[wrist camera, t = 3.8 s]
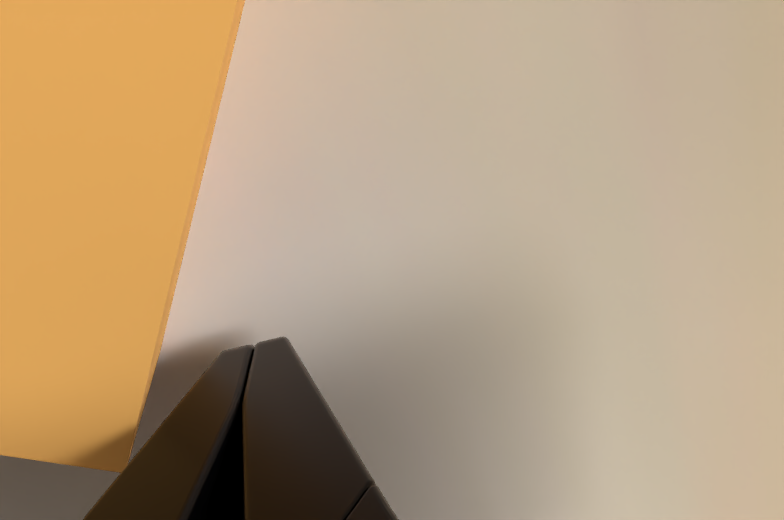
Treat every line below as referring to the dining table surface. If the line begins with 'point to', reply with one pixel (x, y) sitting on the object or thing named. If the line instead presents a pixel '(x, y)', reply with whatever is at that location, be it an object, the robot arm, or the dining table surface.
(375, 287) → the dining table surface
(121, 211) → the long orange brick
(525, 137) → the dining table surface
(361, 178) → the dining table surface
